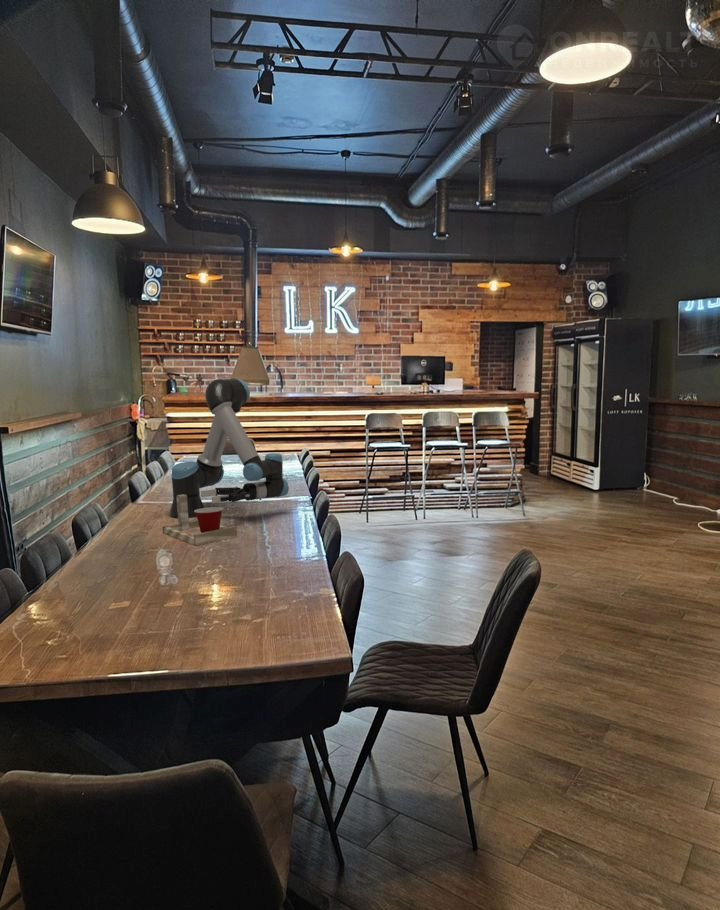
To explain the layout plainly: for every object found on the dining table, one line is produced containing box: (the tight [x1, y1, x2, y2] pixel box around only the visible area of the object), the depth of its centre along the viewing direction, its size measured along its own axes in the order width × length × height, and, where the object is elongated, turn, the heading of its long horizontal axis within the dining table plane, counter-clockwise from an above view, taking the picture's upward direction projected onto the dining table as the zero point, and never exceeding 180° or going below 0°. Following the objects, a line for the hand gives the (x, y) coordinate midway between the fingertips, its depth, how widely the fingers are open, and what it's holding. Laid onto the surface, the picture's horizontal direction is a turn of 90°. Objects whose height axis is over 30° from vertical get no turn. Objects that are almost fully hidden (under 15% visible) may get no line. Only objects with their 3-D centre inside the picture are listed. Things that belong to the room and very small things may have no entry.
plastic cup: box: [194, 506, 224, 533], centre depth 222 cm, size 11×11×12 cm
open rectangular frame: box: [162, 494, 238, 547], centre depth 228 cm, size 28×17×14 cm, turn 44°
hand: (206, 496), depth 242 cm, fingers open, 13 cm apart
